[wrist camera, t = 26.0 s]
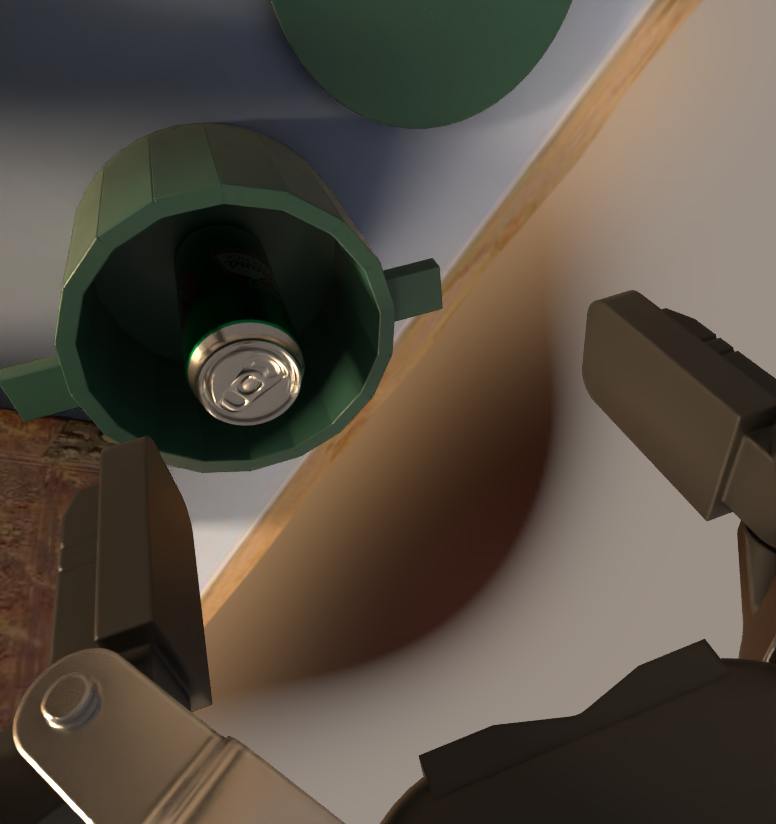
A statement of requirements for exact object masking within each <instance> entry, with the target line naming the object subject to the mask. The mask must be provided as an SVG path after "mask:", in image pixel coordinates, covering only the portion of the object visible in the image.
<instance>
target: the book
mask: <svg viewBox="0 0 776 824" xmlns="http://www.w3.org/2000/svg"><path fill="white" fill-rule="evenodd" d="M118 444H120V443H118V442H116V441H114V440H113V439H111V438H109V437H108V436H106V435H105V434H103V432H102V431H101V430H100V429H99V428H98V427H97V425H96V424H95V423H93V422H87V421H81V420H74V419H68V418H62V417H55V416H49V415H48V416H45V417H41V418H37V419H33V420H30V421H26V422H24V421H23V419H22V418H21V416H20V415H19V413H18V412H17V410H11V409H5V408H0V732H1V731H2V730H4V729H5V728H6V727H7V726H8V725H9V724H11V723H12V722H13V721H14V717H15V713H16V710H17V708H18V705H19V703H20V701H21V699H22V697H23V696H24V694H25V692H26V691H27V689H28V688H29V687H30V685H31V684H32V683H33V681H34V680H35V679H36V678H37V677H38V676H39V675H40V674H41V673H42V672H43V671H44V670H46V669H47V668H48V662H49V655H50V645H51V634H52V623H53V612H54V601H55V590H56V579H57V573H59V570H58V557H59V550H61V547H60V536H61V525H62V517H63V515H64V513H65V512H66V510H67V508H68V506H69V505H70V503H71V501H72V499H73V497H74V496H75V494H76V492H77V490H78V489H82V488H85V487H88V486H91V485H95V484H98V483H99V473H100V453H101V451H102V449H105V448H108V447H111V446H114V445H118Z"/></svg>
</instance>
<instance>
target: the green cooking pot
mask: <svg viewBox="0 0 776 824" xmlns="http://www.w3.org/2000/svg"><path fill="white" fill-rule="evenodd" d="M210 225H230V226H235V227H238V228H241V229H242V230H244V231H246V232H248V233H249V234H251V235H252V236H253V237H254V238H255V239H257V240H258V242H259V243H260V244H261V246H262V247H263V249H264V251H265V253H266V256H267V258H268V261H269V264H270V266H271V269H272V272H273V274H274V277H275V280H276V282H277V285H278V287H279V290H280V293H281V295H282V298H283V301H284V303H285V306H286V309H287V311H288V314H289V317H290V319H291V322H292V325H293V327H294V330H295V333H296V335H297V338H298V341H299V343H300V346H301V349H302V352H303V355H304V360H305V371H304V376H303V380H302V382H301V386H300V390H299V393H298V395H297V397H296V399H295V401H294V402H293V404H292V405H291V406H290V407H289V408H288V409H287V410H286V411H285V412H284V413H282V414H281V415H279V416H278V417H276V418H274V419H272V420H270V421H267V422H264V423H261V424H256V425H235V424H230V423H227V422H224V421H221V420H219V419H217V418H216V417H214V416H213V415H211V414H210V413H209V412H208V411H207V410H206V409H205V407H204V406H203V405H202V404H201V403H200V402H199V401H198V400H197V399H196V398H195V397H194V395H193V394H192V392H191V390H190V388H189V386H188V383H187V379H186V371H185V362H184V353H183V344H182V335H181V326H180V317H179V308H178V299H177V290H176V281H175V272H174V262H175V257H176V254H177V251H178V249H179V247H180V245H181V244H182V243H183V241H184V240H185V239H186V238H187V237H188V236H189V235H190V234H192V233H193V232H195V231H197V230H199V229H201V228H203V227H207V226H210ZM440 309H442V294H441V280H440V267H439V265H438V264H437V263H436V262H435V260H434V259H433V258H431V259H427V260H423V261H419V262H415V263H411V264H407V265H403V266H399V267H396V268H392V269H388V270H384V271H383V269H382V266H381V263H380V261H379V259H378V258H377V256H376V255H375V253H374V252H373V251H372V249H371V248H370V246H369V245H368V243H367V242H366V240H365V239H364V237H363V236H362V235H361V233H360V232H359V230H358V229H357V227H356V226H355V224H354V223H353V221H352V220H351V219H350V217H349V216H348V214H347V213H346V211H345V210H344V208H343V207H342V205H341V204H340V202H339V201H338V200H337V198H336V197H335V195H334V194H333V192H332V191H331V190H330V189H329V188H328V186H327V185H326V184H325V183H324V182H323V181H322V179H321V178H320V177H319V176H318V174H317V173H316V172H315V171H314V170H313V169H312V168H311V167H310V165H309V164H308V163H307V162H306V161H305V160H304V158H303V157H301V156H300V155H298V154H296V153H294V152H293V151H292V150H290V149H289V148H288V147H286V146H284V145H283V144H281V143H279V142H277V141H276V140H274V139H272V138H270V137H267V136H265V135H263V134H260V133H258V132H256V131H253V130H249V129H245V128H242V127H238V126H233V125H226V124H218V123H193V124H185V125H178V126H173V127H170V128H166V129H163V130H159V131H156V132H153V133H151V134H149V135H147V136H144V137H142V138H140V139H138V140H136V141H135V142H133V143H131V144H130V145H128V146H127V147H125V148H124V149H122V150H121V151H120V152H118V153H117V154H116V155H115V156H114V157H113V158H111V159H110V160H109V161H108V162H107V163H106V164H105V165H104V166H103V167H102V169H101V170H100V171H99V172H98V174H97V175H96V176H95V177H94V179H93V180H92V182H91V184H90V185H89V187H88V189H87V190H86V192H85V194H84V197H83V198H82V200H81V201H80V203H79V205H78V207H77V210H76V215H75V221H74V226H73V231H72V237H71V242H70V248H69V253H68V258H67V264H66V269H65V275H64V280H63V285H62V291H61V298H60V305H59V312H58V319H57V326H56V333H55V340H54V346H55V349H56V352H57V355H53V356H49V357H45V358H41V359H37V360H33V361H29V362H25V363H22V364H18V365H14V366H10V367H6V368H2V369H1V370H0V386H1V387H2V389H3V390H4V392H5V393H6V395H7V396H8V398H9V400H10V401H11V403H12V404H13V406H14V407H15V409H16V410H17V412H18V413H19V415H20V416H21V418H22V419H23V421H24V422H26V421H30V420H33V419H37V418H41V417H45V416H48V415H52V414H56V413H59V412H63V411H67V410H70V409H74V408H78V407H81V408H82V409H83V410H84V411H85V413H86V414H87V415H88V416H89V417H90V418H91V420H92V421H93V422H94V423H95V424H96V425H97V427H98V428H99V429H100V430H101V431H102V432H103V434H105V435H106V436H108V437H109V438H111V439H113V440H114V441H116V442H118V443H120V444H121V443H124V442H128V441H131V440H134V439H138V438H141V437H144V436H147V435H148V436H150V437H151V438H152V440H153V441H154V443H155V445H156V447H157V449H158V450H159V452H160V454H161V456H162V458H163V460H164V462H165V464H166V465H170V466H175V467H179V468H183V469H188V470H192V471H196V472H201V473H212V472H238V471H252V470H256V469H260V468H263V467H266V466H270V465H273V464H276V463H280V462H283V461H286V460H290V459H293V458H296V457H299V456H302V455H304V454H305V453H307V452H309V451H310V450H312V449H314V448H315V447H317V446H318V445H320V444H322V443H323V442H325V441H327V440H328V439H330V438H332V437H333V436H335V435H336V434H338V433H340V432H341V430H343V429H344V428H345V427H346V426H347V425H348V423H349V422H350V421H351V420H352V419H353V418H354V417H355V416H356V415H357V414H358V413H359V411H360V410H361V409H362V408H363V407H364V406H365V405H366V404H367V403H368V402H369V401H370V399H371V398H372V396H374V394H375V391H376V389H377V387H378V385H379V383H380V380H381V378H382V376H383V374H384V372H385V369H386V367H387V365H388V363H389V360H390V358H391V356H392V351H393V335H394V322H395V321H399V320H403V319H406V318H410V317H414V316H417V315H421V314H425V313H428V312H432V311H436V310H440Z"/></svg>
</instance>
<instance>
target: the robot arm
mask: <svg viewBox="0 0 776 824" xmlns="http://www.w3.org/2000/svg"><path fill="white" fill-rule="evenodd" d="M582 373H583V379H584V383H585V386H586V389H587V391H588V393H589V395H590V396H591V398H592V399H593V400H594V402H595V403H596V404H597V405H598V406H599V407H600V408H601V409H602V410H603V411H604V412H605V413H606V414H607V415H608V416H609V417H610V419H611V420H612V421H613V422H614V423H615V424H616V425H617V426H618V427H619V428H620V429H621V430H622V431H623V432H624V434H626V436H627V437H628V438H629V439H630V440H631V441H632V442H633V443H634V444H635V445H636V446H637V447H638V448H639V450H641V452H642V453H643V454H644V455H645V456H646V457H647V458H648V459H649V460H650V461H651V462H652V463H653V464H654V465H655V467H656V468H657V469H658V470H659V471H660V472H661V473H662V474H663V475H664V476H665V477H666V478H667V479H668V480H669V481H670V483H671V484H673V486H674V487H675V488H676V489H677V490H678V491H679V492H680V493H681V494H682V495H683V496H684V497H685V499H686V500H687V501H688V502H689V503H690V504H691V505H692V506H693V507H694V508H695V509H696V510H697V511H698V512H699V514H700V515H701V516H702V517H703V518H704V519H705V520H706V521H709V520H712V519H715V518H717V517H720V516H723V515H725V514H728V513H731V512H734V513H735V514H736V515H737V516H738V517H739V518H740V519H741V522H740V525H739V528H738V533H737V535H738V552H739V566H740V583H741V598H742V613H743V635H742V642H741V647H740V651H739V658H738V659H732V658H731V659H730V658H721V659H720V658H719V656H718V655H717V654H716V652H715V651H714V650H713V649H712V648H711V646H710V645H709V644H708V642H707V641H706V640H705V639H703V640H701V641H698V642H696V643H693V644H691V645H689V646H686V647H684V648H681V649H679V650H676V651H674V652H671V653H669V654H666V655H664V656H662V657H660V658H657V659H654V660H652V661H650V662H647V663H644V664H642V665H640V666H638V667H637V668H635V669H634V670H633V671H632V672H631V673H629V674H628V675H627V676H626V677H625V678H624V679H622V680H621V681H620V682H619V683H617V684H616V685H615V686H614V687H613V688H611V689H610V690H609V691H608V692H607V693H605V694H604V695H603V696H602V697H601V698H599V699H598V700H597V701H596V702H595V703H593V704H592V705H591V706H590V707H589V708H587V709H586V710H585V711H584V712H582V713H580V714H578V715H575V716H571V717H563V718H553V719H545V720H536V721H527V722H518V723H509V724H500V725H493V726H490V727H488V728H485V729H483V730H480V731H478V732H475V733H473V734H471V735H468V736H466V737H463V738H461V739H458V740H456V741H453V742H451V743H449V744H446V745H444V746H441V747H439V748H436V749H434V750H431V751H429V752H427V753H424V754H422V755H419V759H420V763H421V768H422V772H423V776H424V777H423V778H421V779H420V780H419V781H418V782H417V783H415V784H414V785H413V786H412V787H410V788H409V789H408V790H407V791H406V792H405V793H404V795H403V796H402V797H401V798H400V799H399V800H398V801H397V802H396V803H395V804H394V805H393V807H392V808H391V809H390V811H389V812H388V813H387V815H386V816H385V817H384V819H383V820H382V821H381V823H380V824H776V379H775V378H774V377H773V376H771V375H770V374H768V373H767V372H766V371H764V370H763V369H761V368H760V367H759V366H758V365H756V364H755V363H753V362H752V361H751V360H750V359H748V358H746V357H745V356H744V355H743V354H741V353H740V352H739V351H736V352H734V350H733V347H732V346H730V345H729V344H728V343H726V342H725V341H724V340H722V339H721V338H718V339H717V338H716V334H714V333H713V332H712V331H710V330H709V329H707V328H706V327H705V326H703V325H702V324H701V323H699V322H698V321H697V320H695V319H693V318H691V317H688V316H685V315H683V314H680V313H677V312H675V311H672V310H669V309H667V308H665V309H660V308H659V307H657V306H656V305H655V304H654V303H652V302H651V301H649V300H648V299H647V298H646V297H644V296H643V295H642V294H640V293H638V292H637V291H634V290H631V291H627V292H623V293H620V294H617V295H613V296H610V297H607V298H604V299H600V300H597V301H594V302H593V303H592V304H591V305H590V306H589V309H588V314H587V324H586V334H585V345H584V355H583V366H582ZM60 547H61V550H59V557H58V570H59V573H57V579H56V590H55V601H54V612H53V623H52V634H51V645H50V655H49V662H48V668H47V669H46V670H44V671H43V672H42V673H41V674H40V675H39V676H38V677H37V678H36V679H35V680H34V681H33V683H32V684H31V685H30V687H29V688H28V689H27V691H26V692H25V694H24V696H23V697H22V699H21V701H20V703H19V705H18V708H17V710H16V713H15V717H14V721H13V722H12V723H11V724H9V725H8V726H7V727H6V728H5V729H4V730H2V731H1V732H0V824H345V823H344V822H342V821H341V820H340V819H339V818H338V817H336V816H335V815H334V814H333V813H331V812H330V811H329V810H327V809H326V808H325V807H324V806H322V805H321V804H320V803H318V802H317V801H316V800H315V799H313V798H312V797H311V796H310V795H308V794H307V793H306V792H304V791H303V790H302V789H301V788H299V787H298V786H297V785H295V784H294V783H293V782H291V781H290V780H289V779H288V778H287V777H285V776H284V775H283V774H281V773H280V772H279V771H278V770H276V769H275V768H274V767H273V766H271V765H270V764H269V763H267V762H266V761H265V760H264V759H262V758H261V757H260V756H259V755H257V754H256V753H255V752H253V751H252V750H251V749H250V748H248V747H247V746H245V745H244V744H242V743H241V742H240V741H238V740H237V739H235V738H233V737H230V736H228V737H227V738H226V737H223V736H222V735H220V734H218V733H217V732H216V731H214V730H213V729H212V728H211V727H209V726H208V725H207V724H206V723H204V722H203V721H202V720H201V719H199V718H198V717H197V716H195V715H194V714H193V713H192V712H194V711H196V710H199V709H202V708H204V707H207V706H210V705H212V696H211V687H210V679H209V670H208V663H207V662H208V661H207V653H206V645H205V635H204V626H203V618H202V609H201V600H200V592H199V583H198V574H197V566H196V557H195V548H194V539H193V531H192V525H191V521H190V517H189V514H188V510H187V507H186V505H185V502H184V500H183V497H182V495H181V493H180V491H179V489H178V487H177V485H176V483H175V482H174V480H173V478H172V476H171V474H170V472H169V470H168V468H167V466H166V464H165V462H164V460H163V458H162V456H161V454H160V452H159V450H158V449H157V447H156V445H155V443H154V441H153V440H152V438H151V437H150V436H148V435H147V436H144V437H141V438H138V439H134V440H131V441H128V442H124V443H121V444H118V445H114V446H111V447H108V448H105V449H102V451H101V453H100V473H99V483H98V484H95V485H91V486H88V487H85V488H82V489H78V490H77V492H76V494H75V496H74V497H73V499H72V501H71V503H70V505H69V506H68V508H67V510H66V512H65V513H64V515H63V517H62V525H61V536H60Z"/></svg>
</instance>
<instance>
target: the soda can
mask: <svg viewBox="0 0 776 824" xmlns="http://www.w3.org/2000/svg"><path fill="white" fill-rule="evenodd" d="M174 272H175V281H176V290H177V299H178V308H179V317H180V326H181V335H182V344H183V353H184V362H185V371H186V379H187V383H188V386H189V388H190V390H191V392H192V394H193V395H194V397H195V398H196V399H197V400H198V401H199V402H200V403H201V404H202V405H203V406H204V407H205V409H206V410H207V411H208V412H209V413H210V414H211V415H213V416H214V417H216V418H217V419H219V420H221V421H224V422H227V423H230V424H235V425H256V424H261V423H264V422H267V421H270V420H272V419H274V418H276V417H278V416H279V415H281V414H282V413H284V412H285V411H286V410H287V409H288V408H289V407H290V406H291V405H292V404H293V402H294V401H295V399H296V397H297V395H298V393H299V390H300V386H301V382H302V380H303V376H304V371H305V360H304V355H303V352H302V349H301V346H300V343H299V341H298V338H297V335H296V333H295V330H294V327H293V325H292V322H291V319H290V317H289V314H288V311H287V309H286V306H285V303H284V301H283V298H282V295H281V293H280V290H279V287H278V285H277V282H276V280H275V277H274V274H273V272H272V269H271V266H270V264H269V261H268V258H267V256H266V253H265V251H264V249H263V247H262V246H261V244H260V243H259V242H258V240H257V239H255V238H254V237H253V236H252V235H251V234H249V233H248V232H246V231H244V230H242V229H241V228H238V227H235V226H230V225H210V226H207V227H203V228H201V229H199V230H197V231H195V232H193V233H192V234H190V235H189V236H188V237H187V238H186V239H185V240H184V241H183V243H182V244H181V245H180V247H179V249H178V251H177V254H176V257H175V262H174Z"/></svg>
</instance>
